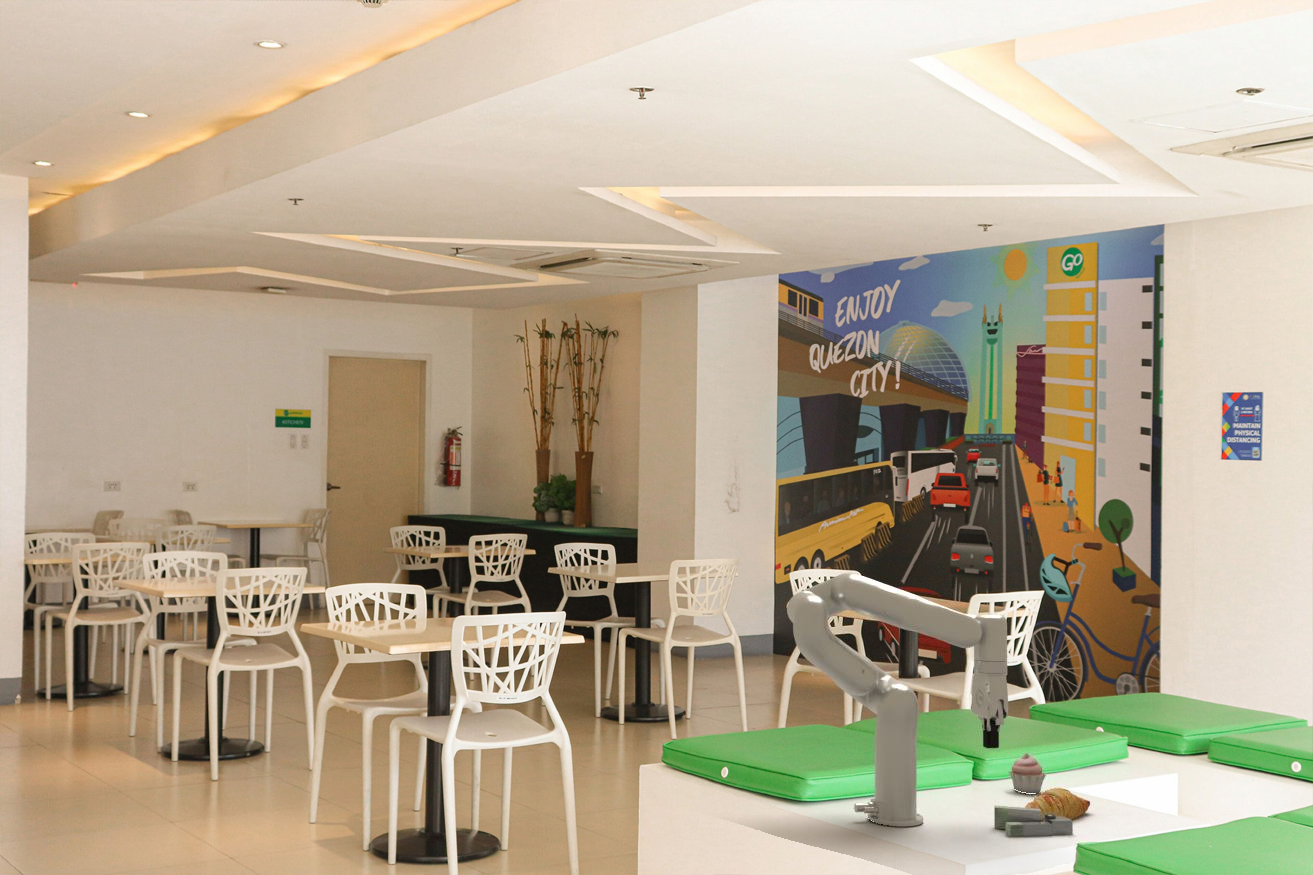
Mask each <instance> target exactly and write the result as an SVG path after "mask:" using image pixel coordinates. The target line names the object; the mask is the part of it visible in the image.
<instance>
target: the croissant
mask: <svg viewBox="0 0 1313 875" xmlns="http://www.w3.org/2000/svg"><path fill="white" fill-rule="evenodd" d="M1090 806H1091V801H1090V800H1087V799H1084V798H1083V797H1079V796H1077V795H1076V794H1073V793H1071V791H1070V790H1069V789H1065V788H1062V787H1061V788H1060V787H1054V788H1051V789H1047V790H1044V791H1043V792H1042V793H1041V794H1040V795H1038V796H1036V797H1035V798H1034V799H1033V801H1031V802H1028V803H1026V805H1025V806H1024V808H1037V809H1041V821H1043V817H1045V814H1054V815H1056V816H1064V817H1066V818H1068V819H1071V820H1075V819H1076V818H1078V817H1079V816H1081V815H1083V814H1085V813H1086V812H1087V811H1088V809H1089V808H1090Z"/></svg>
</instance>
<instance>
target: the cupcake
mask: <svg viewBox="0 0 1313 875" xmlns="http://www.w3.org/2000/svg"><path fill="white" fill-rule="evenodd" d="M1008 774H1009V775H1010V778H1011V781H1012V784H1013V785H1012V786H1013V790H1014V789H1016V790H1018V791H1021V792H1026V793H1038V794H1040V793H1041V791H1042V790H1041V789H1042V787H1043V786H1042V785H1043V783H1044V781H1045V779H1046V776H1047V774H1045V772H1043V766H1042V765H1041V764H1040V763H1039V762H1038V760H1037V759H1036V758H1035V756H1033V755H1031V754H1029V753H1028V752H1026V753H1025V754H1023V755H1022V757H1021V758H1017V759H1015V761H1014V763H1013V764H1012V766H1011V771H1008ZM1039 792H1040V793H1039Z"/></svg>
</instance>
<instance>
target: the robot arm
mask: <svg viewBox="0 0 1313 875" xmlns="http://www.w3.org/2000/svg"><path fill="white" fill-rule="evenodd" d="M847 610H848V611H852V612H855V613H857V614H860V615H863V616H866V617H868V618H871V619H874V620H876V621H880V622H882V623H885V624H888V625H890V626H893V627H897V628H898V629H903V630H905V631H912V632H915V633H919V634H922V635H924V636H925V635H926V636H927V637H932V638H934V639H937V640H939V641H942V642H945V643H948V644H950V645H952V646H956V647H959V648H963V649H969V648H972V647H973V677H972V684H971V685H972V688H971V689H972V690H971V712H972V714H973V715H975V716H977V717H978V719H979V720H980V721H981V729H982V746H983V748H986V749H999V747H1000V729H1001V726H1003V725H1004V724H1005V719H1006V718H1007V717H1008V716H1009V695H1008V694H1009V693H1008V681H1007V676H1008V622H1007V619H1006V617H1005V616H1004V615H1002V614H992V613H989V614H988V613H986V614H976V615H975V614H966V613H964V612H960V611H958V610H954V609H951V608H948V607H946V606H943V605H941V604H938V603H936V602H933V601H929V600H927V599H925V598H923V597H920V596H919V595H916V594H914V593H912V592H909V591H906V590H903V589H901V588H897V587H894V586H892V585H889V584H886V583H883V582H880V581H877V580H875V579H872V578H870V577H866V576H863V575H861V574H857V573H852V572H843V573H841V574H838V575H836V576H833V577H832V578H830V579H827V580H824V581H823V582H820V583H818V584H815V585H813V586H811V587H808V588H806V589H804V590H801V591H799V592H797V593H795V594H794V595H793V596H791V598H790V599H789V601H788V602H787V606H786V611H787V612H786V613H787V616H788V618H789V620H790V622H791V623H792V624H793V625H792V627H793V628H792V630H793V631H792V633H793V637H794V642H795V645H796V646H797V648H798V651H799V652H800V653H801V655H802V656H803V657H804V658H805V659H806V660H807V661H808V662H809V663H811V664H812V665H813V666H815V667H816V668H817V669H818V670H820V671H821V672H822V673H823V674H824V675H826V676H828V677H829V679H831V680H832V681H833V683H835V685H836V686H837V687H838V688H839V689H841V690H842V691H843V692H845V694H847V695H849V696H850V697H852V698H853V699H854V700H855V701H857V702H858V703H860V704H861V705H862V706H864V707H865V708H867V709H868V710H870V712H872V713H873V714H875V715H876V721H875V722H876V723H875V724H876V725H875V730H874V731H875V733H874V798H870V801H868V802H867V803H855V804H853V805H854V806H853V810H854V812H855V813H863V814H867V819H868V818H869V819H870V820H872V821H874V822H877V823H878V824H877V823H876V824H877V825H881V824H883V825H882V826H887V825H889V827H902V828H903V827H904V828H905V827H914V826H919V825H921V824H923V823H924V817H923V815H921V814H919V813H917V788H918V787H917V782H918V781H917V779H918V778H917V776H918V775H917V772H918V771H917V763H918V762H917V760H918V757H917V747H918V746H917V745H918V744H917V737H918V724H919V718H920V717H919V715H920V704H919V699H918V697H917V695H916V693H915V691H914V690H913V689H912V688H911V687H910V686H908V685H907V684H905V683H904V682H901V681H899V680H897V679H896V678H894V677H893V676H891V675H890V674H888V673H887V672H886V671H884V670H883V669H881V668H880V667H879V666H877V665H876V664H875V663H874V662H873V661H872V660H871V659H870V658H868V656H866V655H864V654H862V653H859V652H858V651H856V650H855V649H854V648H852V647H851V646H849V645H848V644H846V643H845V642H844V641H843V640H841V639H840V638H839V637H837V636H836V635H835V634H834V633H833V632H832V631H831V629H830V626H829V619H830V618H831V617H834V616H836V615H838V614H840V613H842V612H843V613H844V612H845V611H847ZM869 819H868V820H869ZM874 822H873V823H874Z"/></svg>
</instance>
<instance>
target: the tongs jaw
mask: <svg viewBox="0 0 1313 875" xmlns="http://www.w3.org/2000/svg"><path fill="white" fill-rule="evenodd" d="M993 810H994V818H993V819H994V828H995V829H999V830H1000V829H1002V830H1006V822H1019V823H1020V822H1042V820H1041V809H1037V808H1025V807H1018V806H1007V805H994V809H993Z"/></svg>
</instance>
